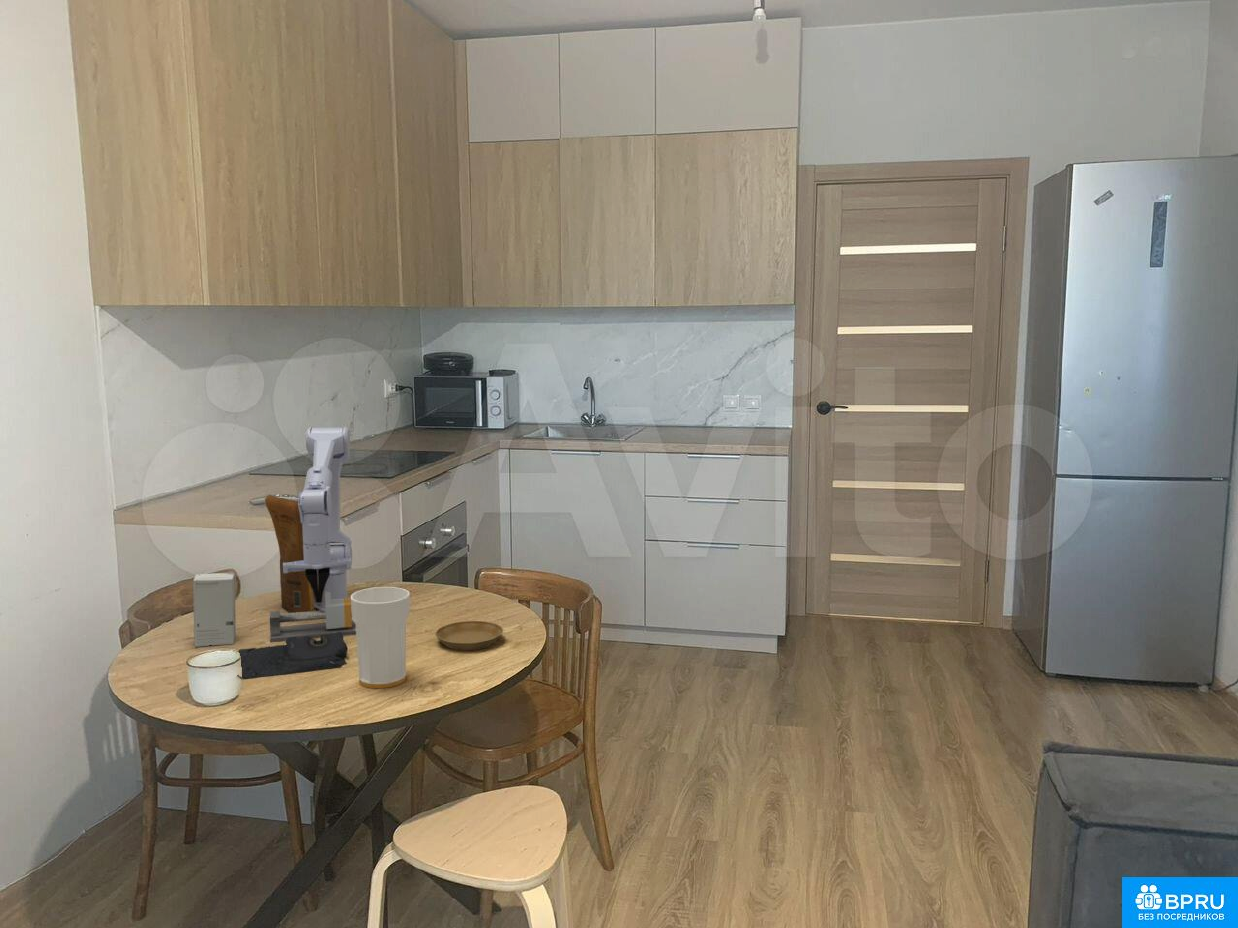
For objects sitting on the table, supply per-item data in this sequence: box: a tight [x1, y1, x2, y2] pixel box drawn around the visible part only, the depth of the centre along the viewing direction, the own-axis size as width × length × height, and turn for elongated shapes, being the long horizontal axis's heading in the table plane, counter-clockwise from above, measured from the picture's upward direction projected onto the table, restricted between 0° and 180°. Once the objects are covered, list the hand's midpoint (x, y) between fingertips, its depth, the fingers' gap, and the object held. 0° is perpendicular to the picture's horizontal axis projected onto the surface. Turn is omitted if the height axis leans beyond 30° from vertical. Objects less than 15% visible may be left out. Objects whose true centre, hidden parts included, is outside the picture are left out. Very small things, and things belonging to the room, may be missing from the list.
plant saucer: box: [434, 620, 504, 651], centre depth 211 cm, size 15×15×3 cm
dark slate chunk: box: [237, 632, 349, 680], centre depth 198 cm, size 15×22×5 cm
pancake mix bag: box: [264, 494, 315, 613], centre depth 230 cm, size 7×19×28 cm, turn 38°
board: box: [269, 620, 356, 643], centre depth 217 cm, size 26×8×1 cm, turn 108°
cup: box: [350, 586, 411, 689], centre depth 188 cm, size 11×11×17 cm
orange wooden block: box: [343, 597, 352, 627], centre depth 218 cm, size 2×5×5 cm, turn 18°
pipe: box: [269, 608, 352, 637], centre depth 217 cm, size 26×5×5 cm, turn 108°
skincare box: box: [192, 572, 237, 648], centre depth 209 cm, size 8×6×15 cm
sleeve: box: [324, 587, 345, 629], centre depth 217 cm, size 4×5×8 cm
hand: (318, 601), depth 216 cm, fingers closed
